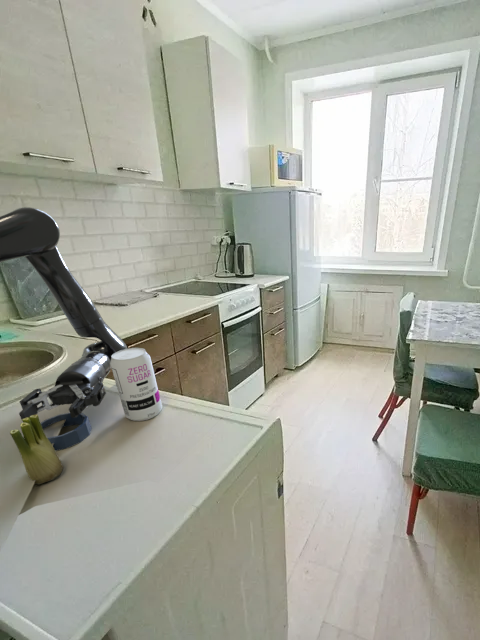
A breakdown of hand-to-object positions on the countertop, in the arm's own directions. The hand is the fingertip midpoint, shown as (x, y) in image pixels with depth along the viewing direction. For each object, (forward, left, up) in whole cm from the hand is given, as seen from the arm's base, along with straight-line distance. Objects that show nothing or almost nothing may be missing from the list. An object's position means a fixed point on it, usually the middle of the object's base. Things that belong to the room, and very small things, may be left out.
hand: (48, 415), depth 65 cm
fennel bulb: (-1, -6, -9) cm, 11 cm away
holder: (-2, +8, -9) cm, 12 cm away
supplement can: (+14, +12, -9) cm, 21 cm away
